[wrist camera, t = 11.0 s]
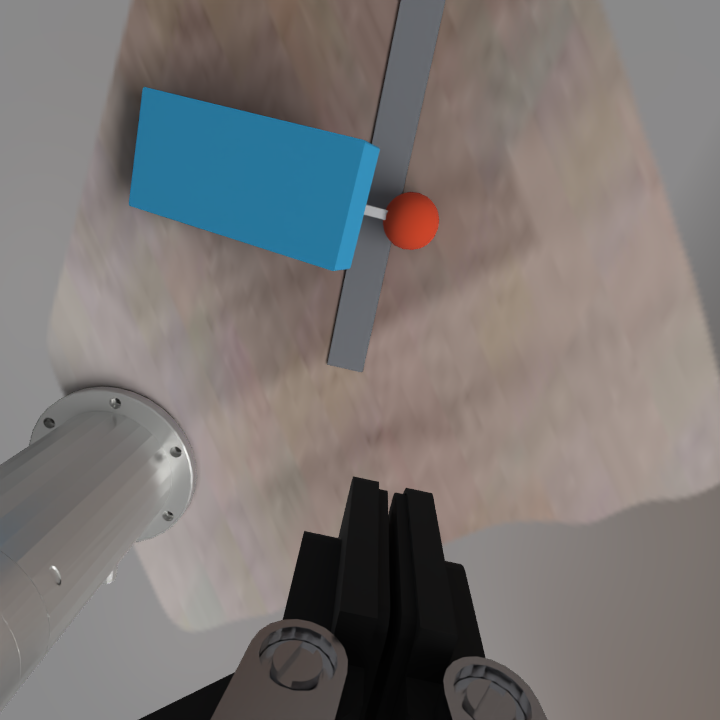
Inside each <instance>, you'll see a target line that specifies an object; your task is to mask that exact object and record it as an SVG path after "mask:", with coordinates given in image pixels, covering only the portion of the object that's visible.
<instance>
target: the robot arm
mask: <svg viewBox="0 0 720 720" xmlns="http://www.w3.org/2000/svg"><path fill="white" fill-rule="evenodd" d="M179 448H180V449H179ZM196 479H197V472H196V461H195V458H194V454H193V451H192V447H191V445H190V443H189V441H188V439H187V437H186V435H185V433H184V432H183V431H182V429H181V428H180V427H179V425H178V424H177V422H176V421H175V420H174V419H173V418H172V417H171V416H170V415H169V414H168V413H167V412H166V411H165V410H164V409H162V408H161V407H160V406H158V405H157V404H155V403H154V402H152V401H151V400H149V399H147V398H145V397H143V396H141V395H139V394H137V393H134V392H131V391H127V390H124V389H120V388H113V387H92V388H85V389H82V390H79V391H76V392H73V393H71V394H69V395H67V396H65V397H63V398H61V399H60V400H58V401H57V402H55V403H54V404H53V405H51V406H50V407H49V408H48V409H47V410H46V411H45V412H44V413H43V414H42V415H41V416H40V418H39V420H38V422H37V423H36V425H35V427H34V429H33V432H32V436H31V440H30V444H29V447H27V448H25V449H24V450H22V451H21V452H19V453H18V454H16V455H15V456H13V457H12V458H10V459H9V460H7V461H6V462H4V463H3V464H1V465H0V714H1V712H2V711H3V710H4V708H5V707H6V706H7V704H8V703H9V702H10V701H11V699H12V698H13V697H14V695H15V694H16V693H17V691H18V690H19V689H20V688H21V686H22V685H23V684H24V683H25V681H26V680H27V679H28V677H29V676H30V675H31V674H32V672H33V671H34V670H35V668H36V667H37V666H38V665H39V664H40V663H41V661H42V660H43V659H44V657H45V656H46V655H47V654H48V652H49V651H50V650H51V648H52V647H53V646H54V645H55V643H56V642H57V641H58V640H59V638H60V637H61V636H62V634H63V633H64V632H65V631H66V629H67V628H68V627H69V626H70V624H71V623H72V622H73V621H74V619H75V618H76V617H77V615H78V614H79V613H80V612H81V610H82V609H83V608H84V606H85V605H86V604H87V603H88V601H89V600H90V599H91V598H92V596H93V595H94V594H95V593H96V591H97V590H98V589H99V587H100V586H101V585H102V584H109V583H112V582H113V581H114V580H115V579H116V575H117V565H118V563H119V562H120V561H121V559H122V558H123V557H124V556H125V554H126V553H127V551H129V549H130V548H131V547H132V546H133V544H134V543H135V542H140V541H144V540H148V539H152V538H154V537H156V536H158V535H160V534H162V533H164V532H165V531H167V530H168V529H169V528H171V527H172V526H173V525H174V524H175V523H176V522H177V521H178V520H179V518H180V517H181V516H182V515H183V513H184V512H185V510H186V509H187V507H188V506H189V504H190V502H191V500H192V497H193V494H194V491H195V486H196ZM139 720H548V719H547V717H546V715H545V713H544V711H543V709H542V707H541V705H540V703H539V701H538V699H537V697H536V696H535V694H534V693H533V691H532V690H531V688H530V687H529V686H528V684H527V683H526V682H524V680H523V679H522V678H521V677H520V676H519V675H517V674H516V673H514V672H513V671H512V670H510V669H509V668H507V667H506V666H504V665H502V664H500V663H498V662H495V661H493V660H491V659H486V658H485V654H484V650H483V645H482V641H481V637H480V633H479V628H478V624H477V621H476V615H475V611H474V607H473V603H472V598H471V594H470V590H469V585H468V582H467V577H466V573H465V570H464V567H463V566H462V565H461V564H457V563H452V562H448V561H445V559H444V554H443V548H442V543H441V537H440V532H439V526H438V521H437V515H436V510H435V504H434V499H433V494H432V493H428V492H423V491H419V490H414V489H409V488H406V489H405V491H404V493H403V494H400V493H394V496H393V499H392V503H391V507H390V510H389V514H388V491H386V490H381V489H379V482H377V481H372V480H367V479H363V478H358V477H353V479H352V482H351V486H350V491H349V495H348V499H347V503H346V508H345V512H344V516H343V520H342V525H341V529H340V533H339V537H338V538H335V537H330V536H325V535H321V534H316V533H311V532H306V531H304V534H303V538H302V542H301V547H300V551H299V555H298V559H297V563H296V567H295V571H294V575H293V580H292V584H291V588H290V592H289V596H288V600H287V604H286V609H285V613H284V617H283V620H281V621H277V622H274V623H271V624H269V625H267V626H266V627H264V628H263V629H261V630H260V631H259V632H258V633H257V634H256V636H255V637H254V638H253V639H252V641H251V643H250V644H249V646H248V648H247V650H246V652H245V654H244V656H243V658H242V660H241V662H240V664H239V666H238V668H237V670H236V671H235V672H234V673H233V674H230V675H228V676H226V677H224V678H223V679H220V680H218V681H216V682H214V683H212V684H210V685H208V686H206V687H204V688H202V689H200V690H198V691H196V692H194V693H192V694H190V695H188V696H186V697H184V698H182V699H179V700H177V701H175V702H173V703H171V704H169V705H167V706H165V707H163V708H161V709H159V710H157V711H155V712H153V713H151V714H149V715H147V716H145V717H143V718H141V719H139Z"/></svg>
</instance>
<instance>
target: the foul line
mask: <svg viewBox="0 0 720 720" xmlns="http://www.w3.org/2000/svg"><path fill="white" fill-rule="evenodd" d="M444 4H445V0H401V2H400V7H399V12H398V17H397V22H396V27H395V32H394V37H393V42H392V47H391V52H390V57H389V62H388V67H387V72H386V76H385V81H384V86H383V91H382V96H381V101H380V106H379V111H378V116H377V121H376V126H375V131H374V136H373V141H372V144H373V145H375V146H377V147H379V148H380V151H379V155H378V159H377V163H376V168H375V172H374V176H373V180H372V184H371V188H370V192H369V196H368V200H367V205H370V206H374V207H378V208H382V209H386V208H387V206H388V205H389V203H390V202H391V201H392V200H393V199H394V198H395V197H397V196H399V195H401V194H402V193H403V188H404V184H405V179H406V175H407V170H408V166H409V161H410V157H411V152H412V148H413V143H414V139H415V134H416V130H417V125H418V121H419V116H420V112H421V107H422V103H423V99H424V94H425V90H426V85H427V81H428V76H429V72H430V67H431V63H432V58H433V54H434V49H435V45H436V40H437V36H438V31H439V27H440V22H441V18H442V13H443V9H444ZM390 246H391V241H390V240H389V239H388V237H387V236H386V234H385V231H384V227H383V219H379V218H375V217H372V216H368V215H364V216H363V220H362V224H361V228H360V232H359V236H358V240H357V244H356V248H355V252H354V256H353V260H352V264H351V268H350V269H347V270H346V275H345V280H344V285H343V289H342V294H341V299H340V304H339V309H338V314H337V319H336V324H335V329H334V334H333V339H332V344H331V349H330V354H329V359H328V364H327V365H332V366H336V367H340V368H345V369H349V370H354V371H358V372H363V367H364V363H365V358H366V354H367V349H368V345H369V340H370V336H371V331H372V327H373V323H374V318H375V314H376V309H377V305H378V300H379V296H380V291H381V287H382V282H383V278H384V273H385V269H386V264H387V260H388V255H389V251H390Z"/></svg>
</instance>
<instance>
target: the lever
mask: <svg viewBox="0 0 720 720" xmlns="http://www.w3.org/2000/svg"><path fill="white" fill-rule="evenodd" d="M379 151H380V148H379V147H377V146H375V145H373V144H371V143H369V142H367V141H365V140H361V139H357V138H353V137H349V136H345V135H341V134H336V133H332V132H328V131H324V130H320V129H316V128H312V127H308V126H303V125H299V124H295V123H291V122H287V121H283V120H279V119H275V118H270V117H266V116H262V115H258V114H254V113H250V112H246V111H241V110H237V109H233V108H229V107H225V106H221V105H217V104H213V103H208V102H204V101H200V100H196V99H192V98H188V97H184V96H180V95H175V94H171V93H167V92H163V91H159V90H155V89H151V88H147V87H144V88H143V91H142V100H141V108H140V116H139V124H138V133H137V141H136V149H135V157H134V165H133V174H132V182H131V190H130V198H129V206H132V207H135V208H138V209H141V210H144V211H148V212H151V213H154V214H157V215H160V216H163V217H166V218H169V219H173V220H176V221H179V222H182V223H185V224H188V225H191V226H194V227H197V228H201V229H204V230H207V231H210V232H213V233H216V234H219V235H222V236H226V237H229V238H232V239H235V240H238V241H241V242H244V243H247V244H250V245H254V246H257V247H260V248H263V249H266V250H269V251H272V252H275V253H279V254H282V255H285V256H288V257H291V258H294V259H297V260H300V261H303V262H307V263H310V264H313V265H316V266H319V267H322V268H325V269H328V270H332V271H336V270H345V269H350V268H351V264H352V260H353V256H354V252H355V248H356V244H357V240H358V236H359V232H360V228H361V224H362V220H363V216H364V215H368V216H372V217H375V218H379V219H383V227H384V231H385V234H386V236H387V237H388V239H389V240H390V241H391V242H392V243H393V244H394V245H395V246H398V247H400V248H402V249H409V250H413V249H418V248H421V247H424V246H425V245H427V244H428V243H429V242H430V241H431V240H432V239H433V238H434V236H435V234H436V232H437V230H438V224H439V216H438V211H437V209H436V207H435V205H434V204H433V202H432V201H431V200H430V199H429V198H428V197H426V196H424V195H422V194H420V193H414V192H408V193H403V194H401V195H399V196H397V197H395V198H394V199H393V200H392V201H391V202H390V203H389V205H388V206H387V208H386V209H382V208H378V207H374V206H370V205H367V200H368V196H369V192H370V188H371V184H372V180H373V176H374V172H375V168H376V163H377V159H378V155H379Z"/></svg>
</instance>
